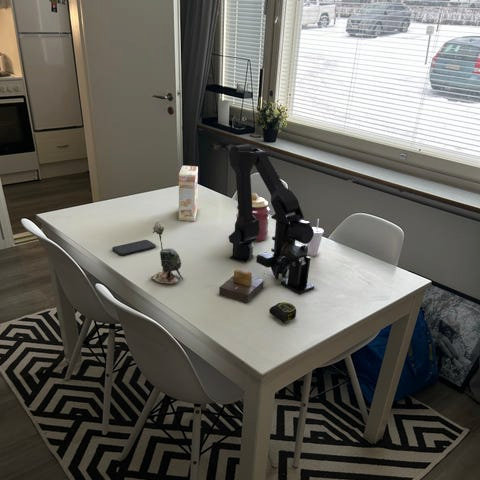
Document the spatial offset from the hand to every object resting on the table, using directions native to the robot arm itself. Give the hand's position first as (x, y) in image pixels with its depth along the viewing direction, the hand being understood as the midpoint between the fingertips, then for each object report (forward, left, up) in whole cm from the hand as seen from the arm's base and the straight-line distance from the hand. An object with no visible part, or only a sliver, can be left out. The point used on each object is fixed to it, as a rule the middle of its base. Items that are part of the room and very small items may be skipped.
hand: (280, 278), depth 173 cm
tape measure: (+11, -25, 0) cm, 28 cm away
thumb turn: (-7, -16, +3) cm, 18 cm away
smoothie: (+2, +26, 0) cm, 26 cm away
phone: (-56, -7, +1) cm, 56 cm away
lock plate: (-7, -16, 0) cm, 17 cm away
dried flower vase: (-31, -22, 0) cm, 38 cm away
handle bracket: (+7, -3, 0) cm, 8 cm away
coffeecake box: (-59, +36, 0) cm, 69 cm away
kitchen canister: (-25, +29, 0) cm, 38 cm away
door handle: (+4, -2, +5) cm, 7 cm away
